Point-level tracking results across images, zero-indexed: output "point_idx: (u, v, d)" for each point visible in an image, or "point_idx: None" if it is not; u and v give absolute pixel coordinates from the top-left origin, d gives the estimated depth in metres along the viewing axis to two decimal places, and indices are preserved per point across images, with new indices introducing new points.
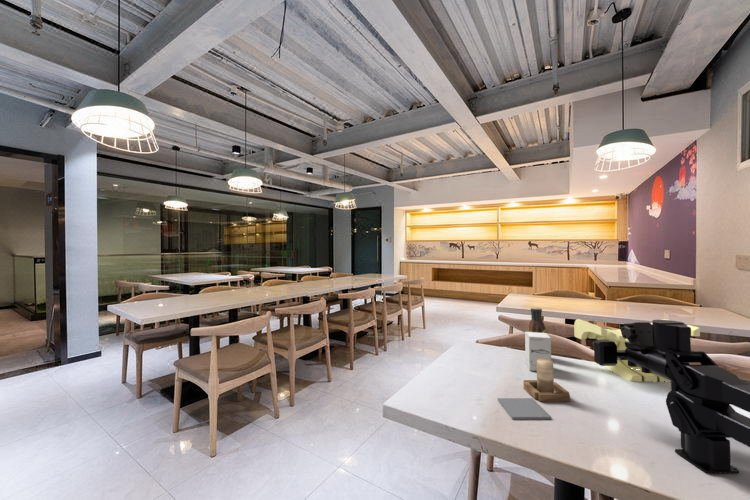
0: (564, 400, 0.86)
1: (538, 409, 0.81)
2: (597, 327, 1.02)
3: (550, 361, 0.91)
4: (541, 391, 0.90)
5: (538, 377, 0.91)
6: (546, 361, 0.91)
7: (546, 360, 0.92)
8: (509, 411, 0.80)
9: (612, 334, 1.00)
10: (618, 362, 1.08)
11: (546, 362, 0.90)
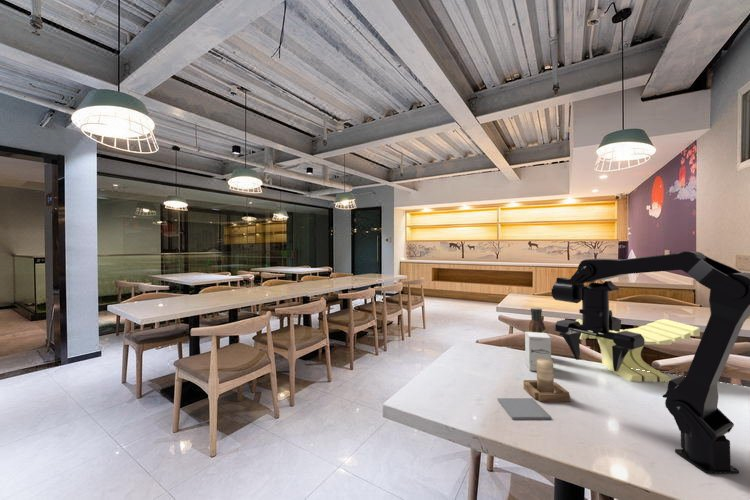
0: (564, 400, 0.86)
1: (538, 409, 0.81)
2: None
3: (550, 361, 0.91)
4: (541, 391, 0.90)
5: (538, 377, 0.91)
6: (546, 361, 0.91)
7: (546, 360, 0.92)
8: (509, 411, 0.80)
9: None
10: None
11: (546, 362, 0.90)
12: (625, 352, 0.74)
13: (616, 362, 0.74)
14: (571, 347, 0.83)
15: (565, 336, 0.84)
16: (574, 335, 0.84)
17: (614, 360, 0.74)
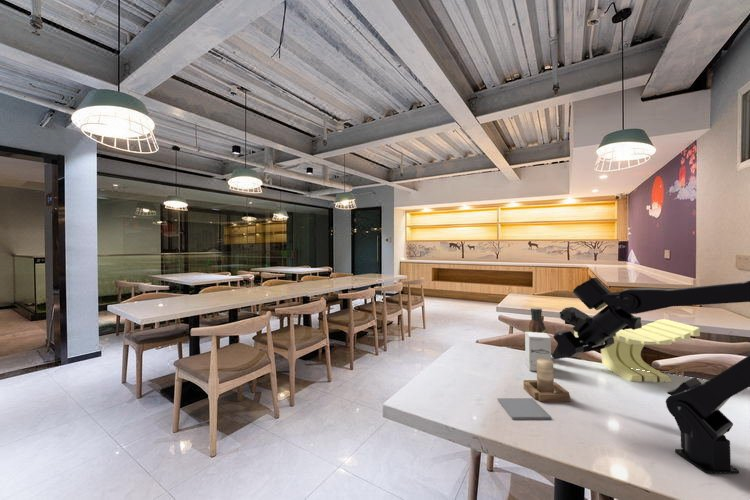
0: (564, 400, 0.86)
1: (538, 409, 0.81)
2: None
3: (550, 361, 0.91)
4: (541, 391, 0.90)
5: (538, 377, 0.91)
6: (546, 361, 0.91)
7: (546, 360, 0.92)
8: (509, 411, 0.80)
9: None
10: (618, 362, 1.08)
11: (546, 362, 0.90)
12: None
13: None
14: (565, 357, 0.81)
15: None
16: None
17: (586, 351, 0.86)
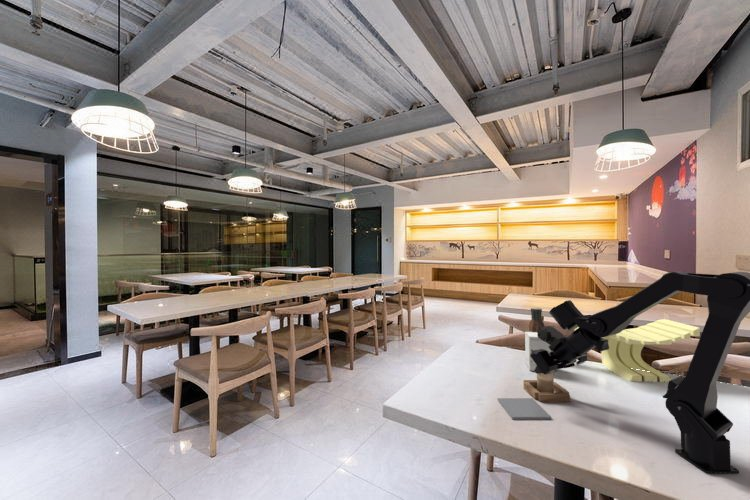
0: (564, 400, 0.86)
1: (538, 409, 0.81)
2: None
3: None
4: (541, 391, 0.90)
5: (538, 377, 0.91)
6: None
7: None
8: (509, 411, 0.80)
9: None
10: (618, 362, 1.08)
11: None
12: None
13: (556, 369, 0.91)
14: None
15: None
16: None
17: (557, 368, 0.91)
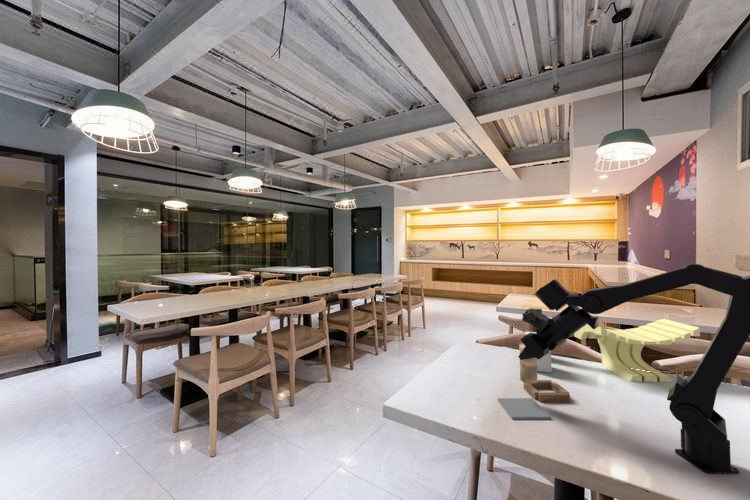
0: (564, 400, 0.86)
1: (538, 409, 0.81)
2: (597, 327, 1.02)
3: None
4: (526, 378, 0.85)
5: (522, 363, 0.86)
6: None
7: None
8: (509, 411, 0.80)
9: (612, 334, 1.00)
10: (618, 362, 1.08)
11: None
12: None
13: None
14: (532, 357, 0.83)
15: None
16: None
17: None
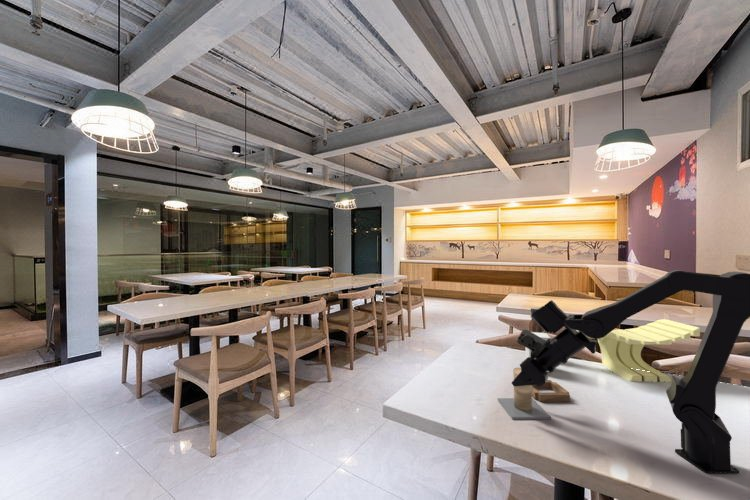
0: (564, 400, 0.86)
1: (538, 409, 0.81)
2: None
3: None
4: (521, 405, 0.81)
5: (517, 390, 0.82)
6: None
7: None
8: (509, 411, 0.80)
9: (612, 334, 1.00)
10: (618, 362, 1.08)
11: None
12: None
13: None
14: None
15: None
16: None
17: None
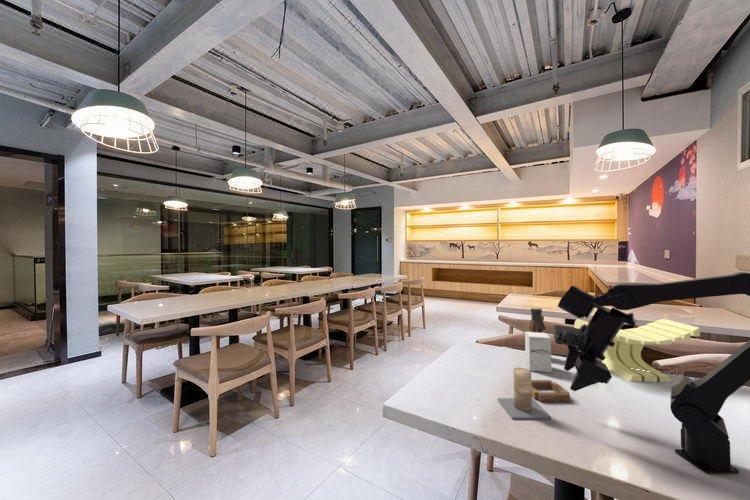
0: (564, 400, 0.86)
1: (538, 409, 0.81)
2: None
3: (527, 371, 0.82)
4: (521, 405, 0.81)
5: (517, 390, 0.82)
6: (523, 370, 0.83)
7: (523, 369, 0.83)
8: (509, 411, 0.80)
9: None
10: (618, 362, 1.08)
11: (525, 372, 0.82)
12: None
13: None
14: None
15: None
16: None
17: None
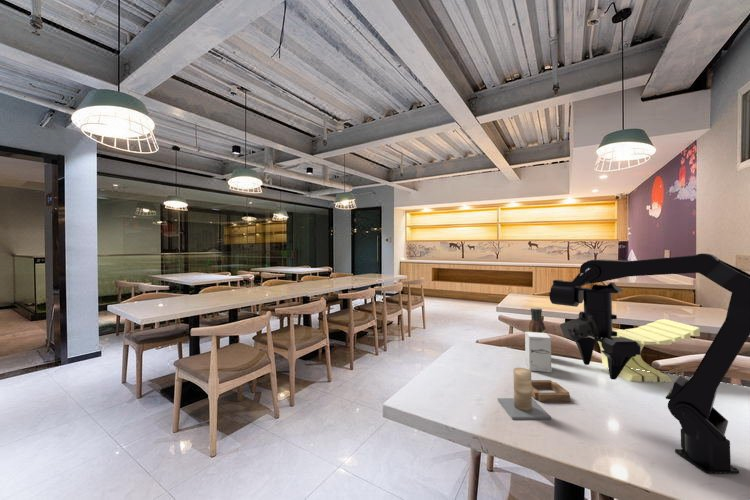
0: (564, 400, 0.86)
1: (538, 409, 0.81)
2: None
3: (528, 371, 0.82)
4: (521, 405, 0.81)
5: (517, 390, 0.82)
6: (523, 370, 0.83)
7: (523, 369, 0.83)
8: (509, 411, 0.80)
9: None
10: None
11: (525, 372, 0.82)
12: None
13: None
14: None
15: None
16: None
17: None
